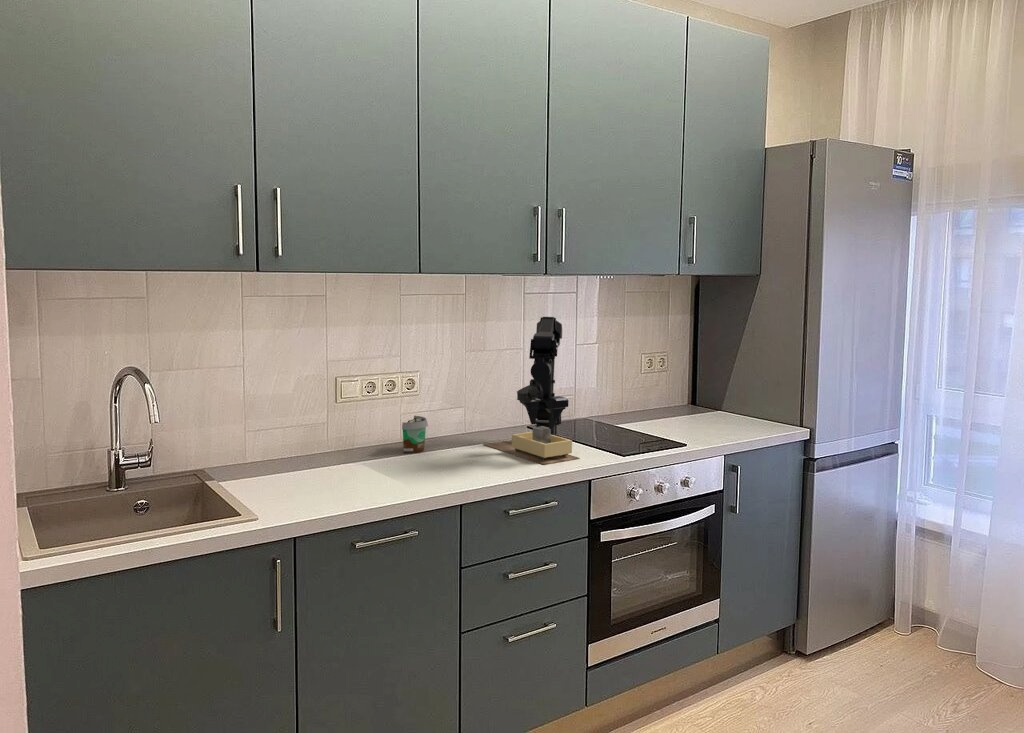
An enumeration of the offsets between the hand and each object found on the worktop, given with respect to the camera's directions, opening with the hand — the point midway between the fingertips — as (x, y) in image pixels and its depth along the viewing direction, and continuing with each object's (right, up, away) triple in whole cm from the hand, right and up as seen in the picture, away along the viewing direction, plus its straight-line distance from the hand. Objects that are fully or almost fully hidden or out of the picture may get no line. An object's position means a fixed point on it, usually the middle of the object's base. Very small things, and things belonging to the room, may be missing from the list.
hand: (541, 426), depth 258 cm
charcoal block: (0, -6, +1) cm, 7 cm away
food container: (-39, -8, +5) cm, 40 cm away
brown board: (-4, -8, +6) cm, 11 cm away
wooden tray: (0, -9, +1) cm, 9 cm away
